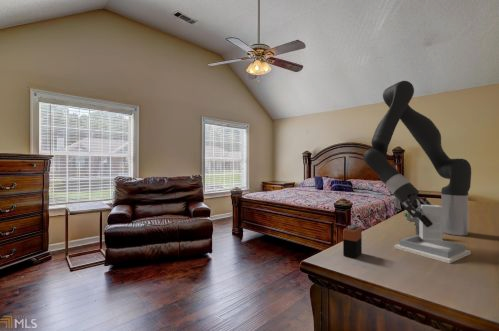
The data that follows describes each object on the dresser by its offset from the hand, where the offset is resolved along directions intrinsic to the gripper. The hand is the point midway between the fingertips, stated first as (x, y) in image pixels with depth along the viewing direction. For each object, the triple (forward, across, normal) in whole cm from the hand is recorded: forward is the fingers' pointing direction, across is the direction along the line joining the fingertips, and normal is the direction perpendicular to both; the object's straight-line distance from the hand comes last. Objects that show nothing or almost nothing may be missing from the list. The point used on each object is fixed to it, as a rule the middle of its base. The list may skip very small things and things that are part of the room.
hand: (435, 224), depth 88 cm
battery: (-2, -27, +17) cm, 32 cm away
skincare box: (+3, 0, +5) cm, 6 cm away
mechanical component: (-2, +16, +16) cm, 23 cm away
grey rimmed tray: (+6, 0, +8) cm, 10 cm away
